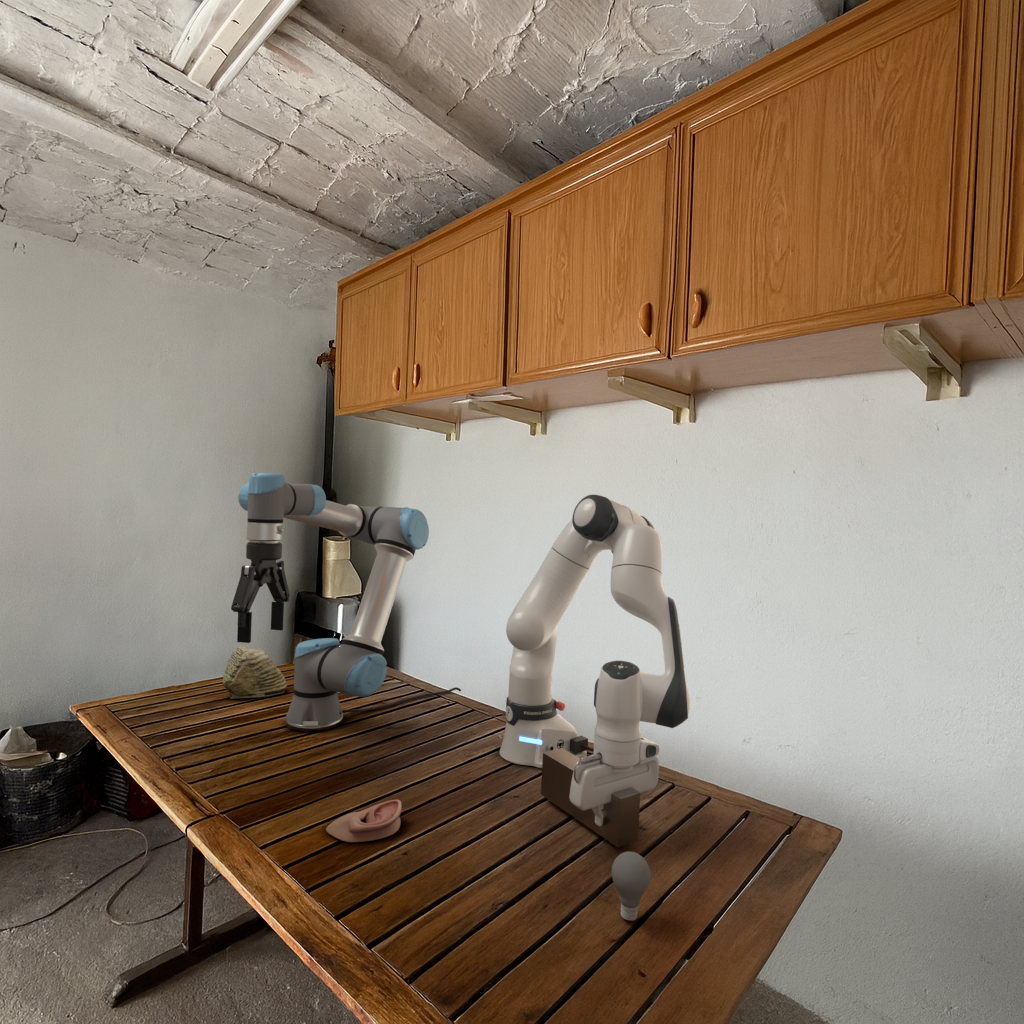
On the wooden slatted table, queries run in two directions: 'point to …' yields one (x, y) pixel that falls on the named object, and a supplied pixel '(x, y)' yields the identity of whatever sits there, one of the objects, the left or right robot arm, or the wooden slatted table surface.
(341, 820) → the anatomical model
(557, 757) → the bar
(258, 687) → the fossil
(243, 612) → the left robot arm
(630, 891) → the light bulb
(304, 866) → the wooden slatted table surface
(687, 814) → the wooden slatted table surface
